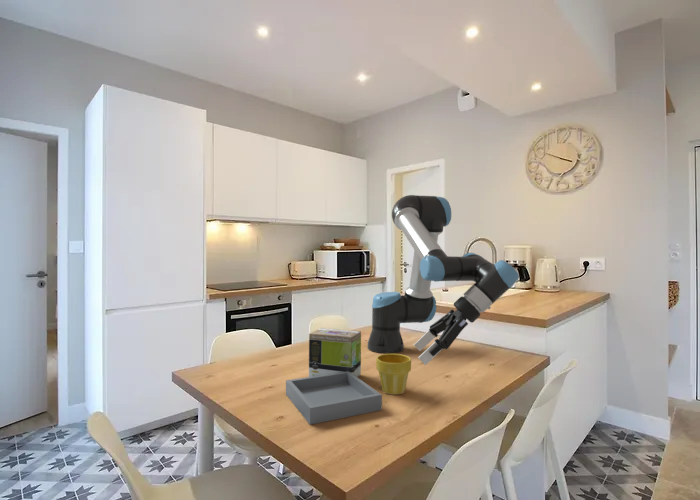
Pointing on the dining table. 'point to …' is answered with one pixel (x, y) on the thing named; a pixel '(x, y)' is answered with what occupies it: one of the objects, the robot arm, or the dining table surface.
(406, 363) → the plant pot
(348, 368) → the tea box
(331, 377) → the serving tray
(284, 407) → the dining table surface
